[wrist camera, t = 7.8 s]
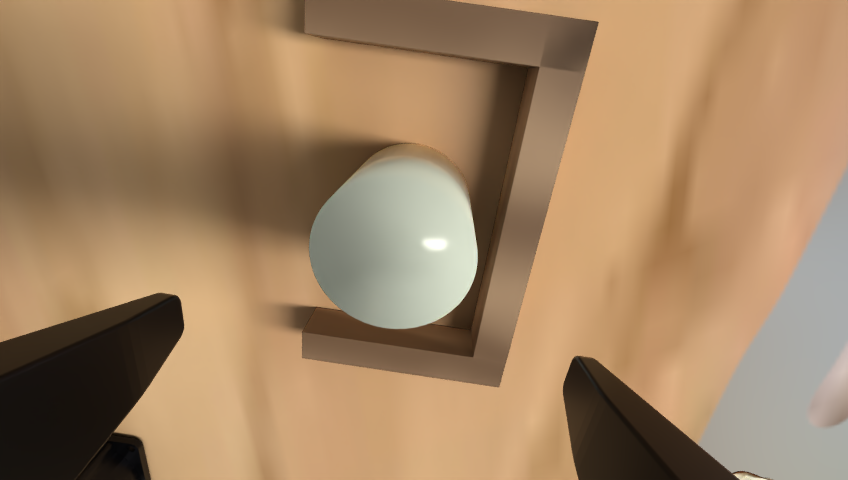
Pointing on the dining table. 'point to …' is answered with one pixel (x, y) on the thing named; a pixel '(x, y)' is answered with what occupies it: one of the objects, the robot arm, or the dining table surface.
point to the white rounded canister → (397, 239)
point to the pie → (748, 476)
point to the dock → (522, 188)
